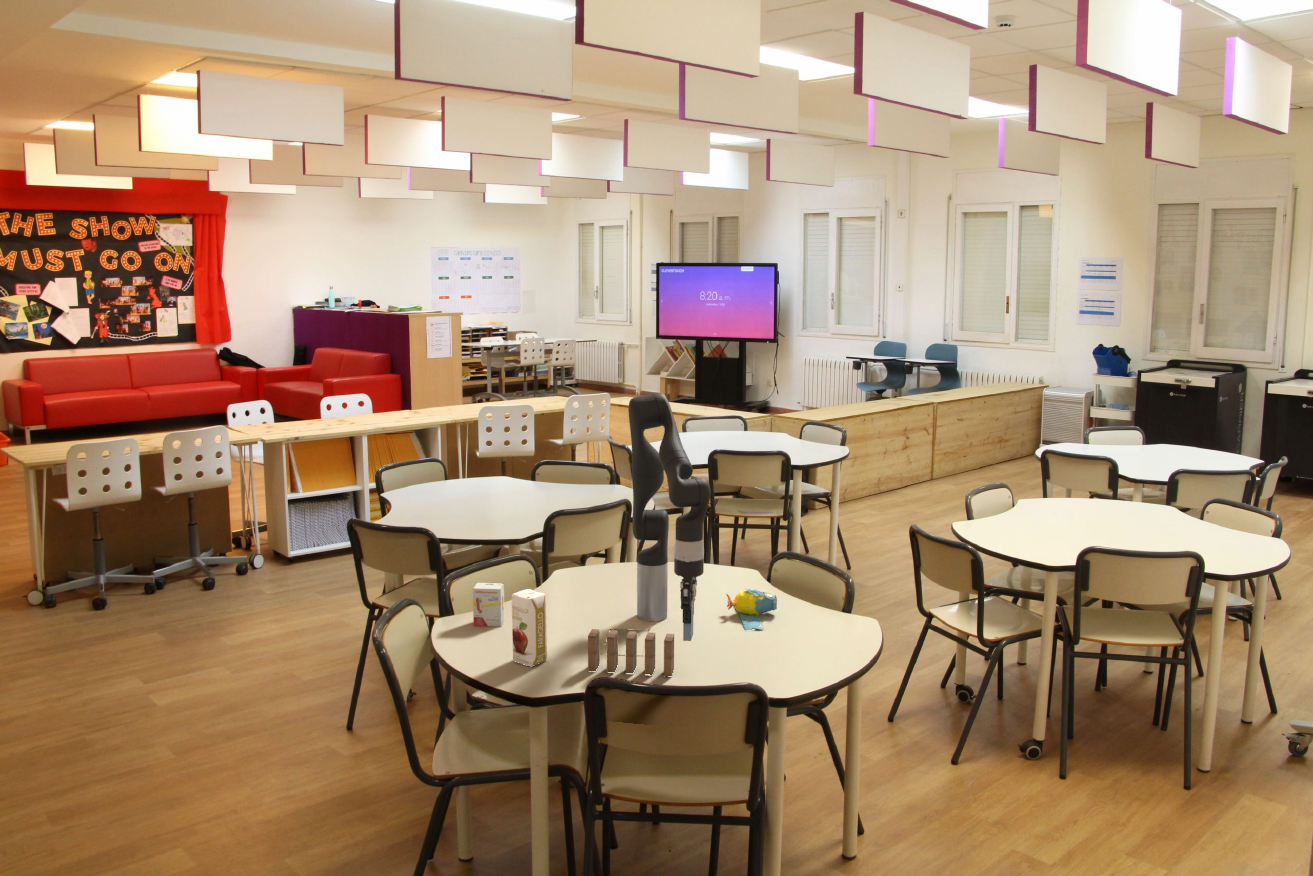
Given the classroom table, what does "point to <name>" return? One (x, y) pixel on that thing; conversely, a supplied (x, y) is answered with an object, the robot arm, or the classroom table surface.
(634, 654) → the domino
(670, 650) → the domino
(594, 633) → the domino
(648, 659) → the domino
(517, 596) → the juice carton
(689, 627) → the blue domino
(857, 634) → the classroom table surface
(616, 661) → the domino
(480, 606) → the ink box
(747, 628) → the toy airplane
